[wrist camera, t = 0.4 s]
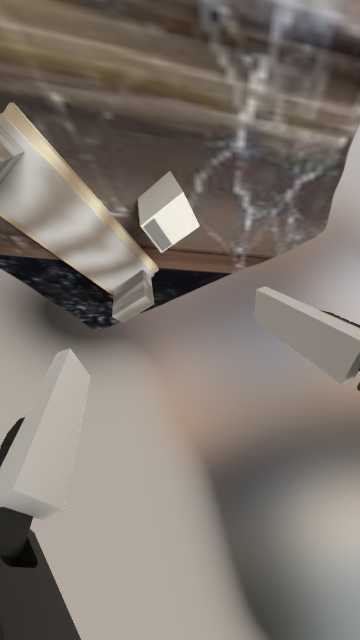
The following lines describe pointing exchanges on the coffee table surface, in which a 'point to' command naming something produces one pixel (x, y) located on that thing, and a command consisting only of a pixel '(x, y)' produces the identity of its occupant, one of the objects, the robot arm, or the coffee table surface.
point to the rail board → (69, 216)
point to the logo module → (166, 213)
